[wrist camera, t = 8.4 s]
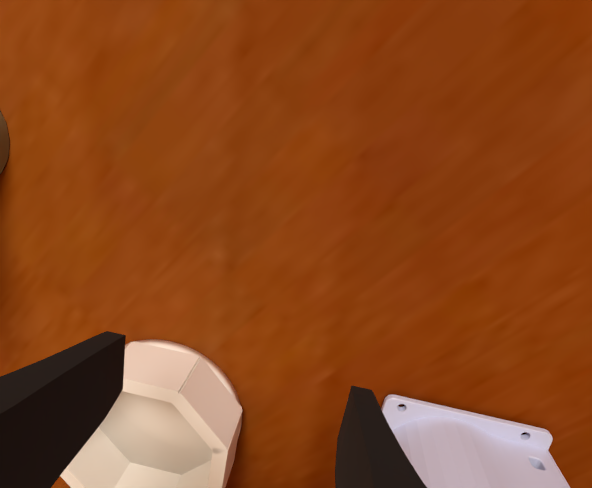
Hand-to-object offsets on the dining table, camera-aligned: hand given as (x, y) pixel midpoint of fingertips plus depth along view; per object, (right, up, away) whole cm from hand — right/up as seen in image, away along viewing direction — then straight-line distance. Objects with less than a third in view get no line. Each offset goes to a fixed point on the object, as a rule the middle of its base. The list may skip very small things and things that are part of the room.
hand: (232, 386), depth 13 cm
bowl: (-6, -6, +14) cm, 16 cm away
